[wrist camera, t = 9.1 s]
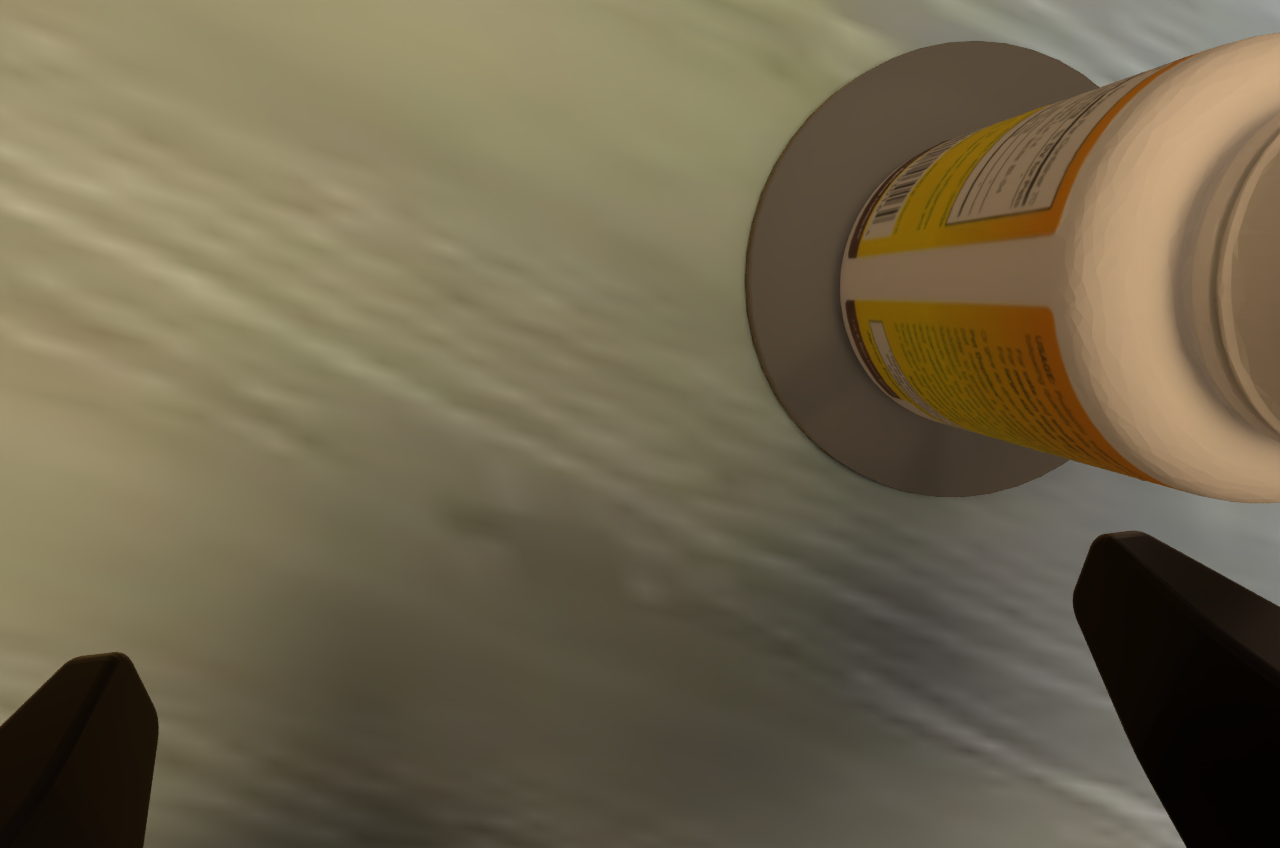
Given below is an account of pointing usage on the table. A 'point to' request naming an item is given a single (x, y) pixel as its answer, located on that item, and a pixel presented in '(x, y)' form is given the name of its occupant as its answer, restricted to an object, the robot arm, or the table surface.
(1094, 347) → the supplement bottle
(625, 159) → the table surface
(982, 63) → the slate coaster
